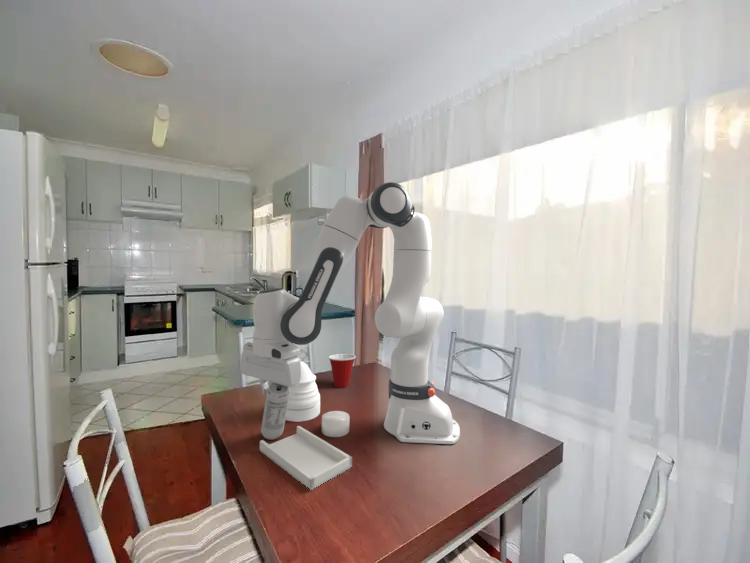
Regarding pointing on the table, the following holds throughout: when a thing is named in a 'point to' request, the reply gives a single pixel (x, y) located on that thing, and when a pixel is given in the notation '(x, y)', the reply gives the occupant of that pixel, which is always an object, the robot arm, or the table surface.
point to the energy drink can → (275, 411)
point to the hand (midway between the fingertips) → (268, 395)
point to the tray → (307, 458)
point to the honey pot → (303, 397)
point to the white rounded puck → (335, 423)
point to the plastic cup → (342, 369)
